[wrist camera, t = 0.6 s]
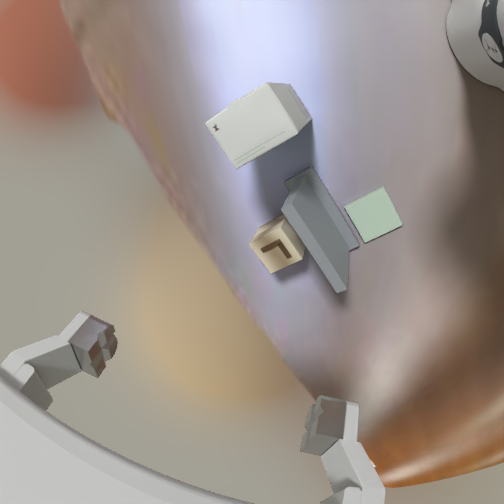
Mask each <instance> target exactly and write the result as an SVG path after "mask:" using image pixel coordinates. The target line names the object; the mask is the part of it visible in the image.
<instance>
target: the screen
mask: <svg viewBox="0 0 504 504" xmlns="http://www.w3.org/2000/svg"><path fill="white" fill-rule="evenodd" d="M284 184H285V185H286V186H287V188H288V189H289V191H290V192H289V194H288V196H287V198H286V200H285V202H284V204H283V206H282V208H281V211H282V212H283V214H284V215H285V217H286V218H287V219H288V221H289V222H290V224H291V225H292V227H293V228H294V230H295V231H296V233H297V234H298V236H299V237H300V238H301V240H302V241H303V243H304V244H305V246H306V247H307V249H308V250H309V252H310V253H311V255H312V256H313V258H314V259H315V261H316V262H317V264H318V265H319V267H320V268H321V270H322V271H323V273H324V274H325V276H326V277H327V279H328V281H329V282H330V284H331V285H332V287H333V288H334V290H335V291H336V293H339V292H342V291H344V290H347V285H348V264H349V250H351V249H354V248H356V247H358V246H360V245H359V242H358V240H357V238H356V236H355V235H354V233H353V231H352V230H351V228H350V226H349V224H348V223H347V221H346V219H345V218H344V216H343V214H342V213H341V211H340V209H339V208H338V206H337V205H336V203H335V201H334V200H333V198H332V196H331V195H330V193H329V192H328V190H327V188H326V187H325V185H324V184H323V182H322V181H321V179H320V177H319V176H318V174H317V173H316V171H315V170H314V168H313V167H312V166H311V167H309V168H308V169H306V170H304V171H302V172H301V173H299V174H297V175H295V176H294V177H292V178H290V179H289V180H287V181H285V183H284Z"/></svg>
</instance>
